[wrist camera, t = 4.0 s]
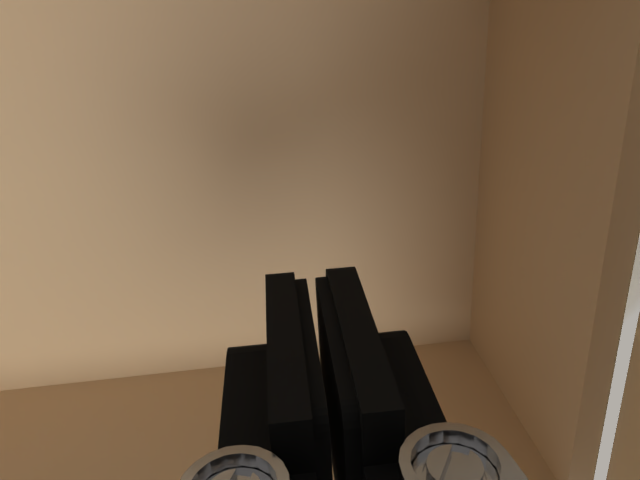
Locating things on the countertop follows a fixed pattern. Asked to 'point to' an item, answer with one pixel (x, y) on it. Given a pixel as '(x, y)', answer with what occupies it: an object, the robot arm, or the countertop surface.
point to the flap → (628, 423)
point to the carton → (310, 211)
